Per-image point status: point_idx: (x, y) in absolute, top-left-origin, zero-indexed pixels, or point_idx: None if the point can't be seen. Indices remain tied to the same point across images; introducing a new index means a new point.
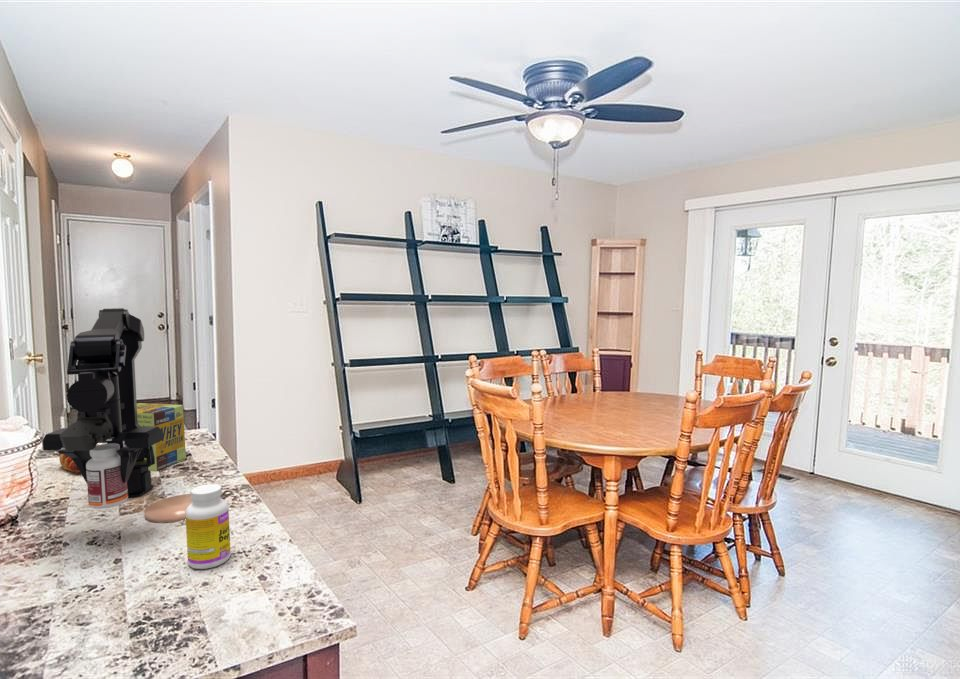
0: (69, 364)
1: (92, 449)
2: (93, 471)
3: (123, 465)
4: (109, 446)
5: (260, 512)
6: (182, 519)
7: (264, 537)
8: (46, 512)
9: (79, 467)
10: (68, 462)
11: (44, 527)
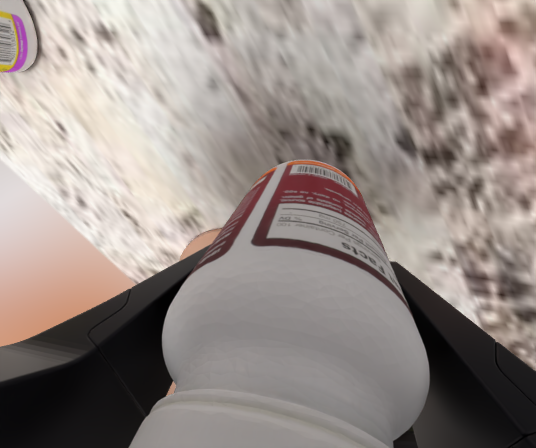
0: None
1: None
2: (309, 245)
3: (136, 296)
4: None
5: (95, 243)
6: (202, 234)
7: (3, 139)
8: (529, 319)
9: (484, 342)
10: None
11: (508, 247)
